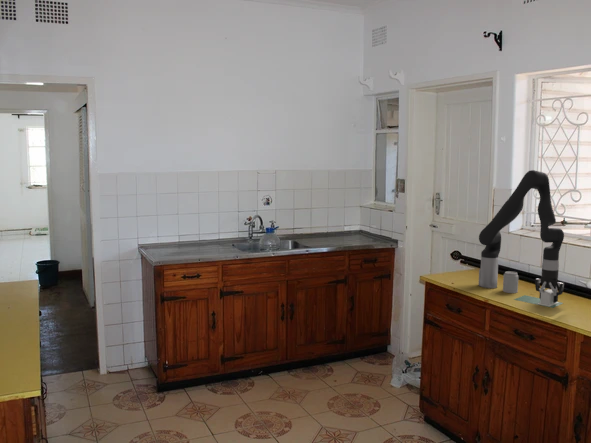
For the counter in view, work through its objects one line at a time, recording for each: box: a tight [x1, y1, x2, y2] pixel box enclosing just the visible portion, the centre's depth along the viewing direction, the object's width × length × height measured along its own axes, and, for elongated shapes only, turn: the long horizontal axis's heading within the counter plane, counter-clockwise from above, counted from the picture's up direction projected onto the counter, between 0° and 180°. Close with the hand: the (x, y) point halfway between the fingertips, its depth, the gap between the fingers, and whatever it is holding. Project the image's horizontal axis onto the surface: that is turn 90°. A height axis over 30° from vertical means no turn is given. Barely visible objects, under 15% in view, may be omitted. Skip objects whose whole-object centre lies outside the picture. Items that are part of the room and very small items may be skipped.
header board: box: [513, 294, 564, 309], centre depth 280 cm, size 20×12×4 cm, turn 42°
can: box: [502, 270, 519, 294], centre depth 299 cm, size 8×8×12 cm
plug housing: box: [540, 288, 554, 306], centre depth 276 cm, size 8×4×6 cm, turn 132°
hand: (548, 301), depth 276 cm, fingers open, 6 cm apart
